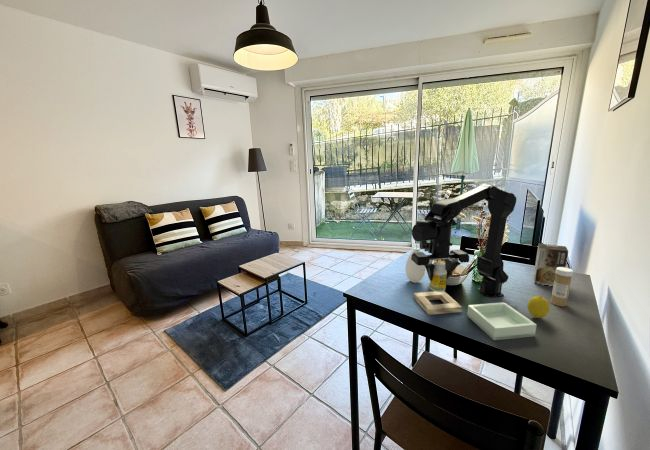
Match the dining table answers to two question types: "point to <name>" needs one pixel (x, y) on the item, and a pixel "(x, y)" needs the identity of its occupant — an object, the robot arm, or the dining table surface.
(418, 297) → the socket block
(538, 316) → the lemon
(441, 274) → the supplement bottle
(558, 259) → the coffee box
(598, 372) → the dining table surface
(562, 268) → the sprinkles bottle
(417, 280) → the sauce bottle
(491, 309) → the tray
